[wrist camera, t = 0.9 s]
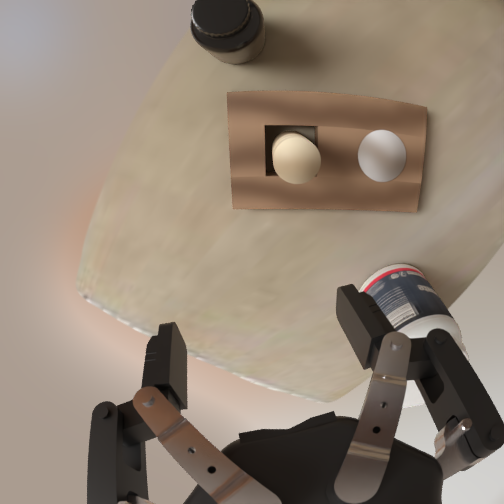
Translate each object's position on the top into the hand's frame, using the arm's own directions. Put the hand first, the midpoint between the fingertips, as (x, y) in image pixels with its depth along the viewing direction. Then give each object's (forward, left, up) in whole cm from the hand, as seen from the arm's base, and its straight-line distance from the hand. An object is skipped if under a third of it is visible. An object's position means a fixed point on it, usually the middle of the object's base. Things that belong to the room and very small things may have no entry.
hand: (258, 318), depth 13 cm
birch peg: (-5, +3, -25) cm, 25 cm away
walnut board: (-5, +8, -25) cm, 26 cm away
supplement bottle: (-19, -3, -25) cm, 31 cm away
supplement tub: (+17, +20, -25) cm, 36 cm away
